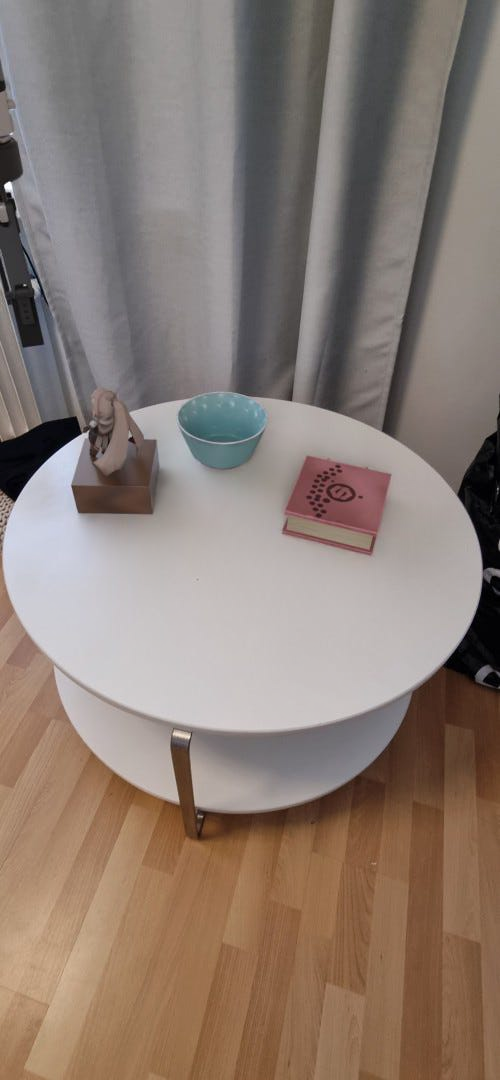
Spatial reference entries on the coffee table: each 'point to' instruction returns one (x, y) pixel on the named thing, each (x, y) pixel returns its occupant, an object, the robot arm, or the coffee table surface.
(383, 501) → the book
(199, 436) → the bowl
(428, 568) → the coffee table surface
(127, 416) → the toy
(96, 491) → the walnut block
